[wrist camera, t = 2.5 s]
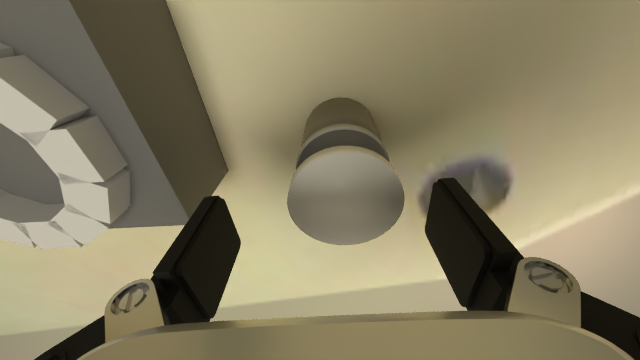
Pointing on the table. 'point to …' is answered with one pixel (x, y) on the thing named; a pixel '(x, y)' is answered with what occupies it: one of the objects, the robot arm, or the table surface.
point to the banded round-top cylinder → (344, 177)
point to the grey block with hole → (98, 122)
